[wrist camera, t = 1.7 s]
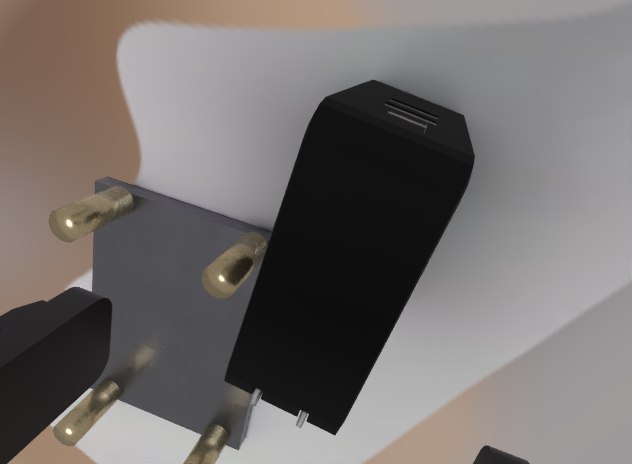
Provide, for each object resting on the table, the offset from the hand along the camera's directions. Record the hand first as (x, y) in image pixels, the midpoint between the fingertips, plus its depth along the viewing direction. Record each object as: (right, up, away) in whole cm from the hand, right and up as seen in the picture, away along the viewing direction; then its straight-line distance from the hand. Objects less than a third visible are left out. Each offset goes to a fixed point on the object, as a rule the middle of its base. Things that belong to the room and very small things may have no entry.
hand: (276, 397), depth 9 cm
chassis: (-7, -2, +18) cm, 20 cm away
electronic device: (+4, +5, +12) cm, 14 cm away
